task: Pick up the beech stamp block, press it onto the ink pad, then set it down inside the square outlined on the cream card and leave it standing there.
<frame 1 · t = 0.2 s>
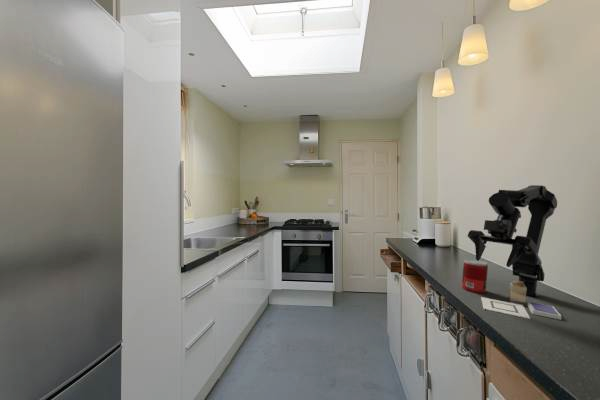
hand: (491, 263, 95), 15 cm above the worktop, tool tilted 30°, fingers open, 9 cm apart
ink pad: (542, 311, 94), on the worktop
print card: (503, 307, 96), on the worktop
stamp: (516, 301, 102), on the worktop
canned food: (473, 290, 113), on the worktop
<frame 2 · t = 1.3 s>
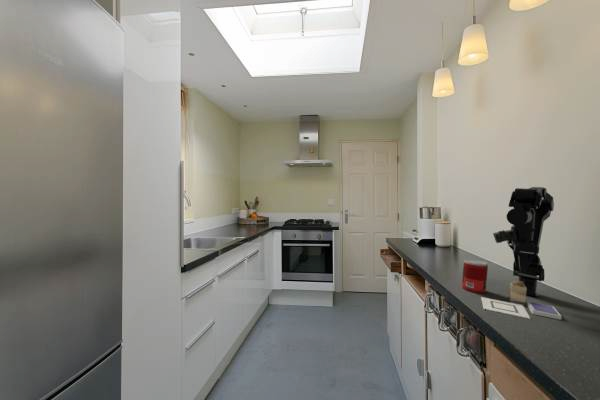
hand: (519, 268, 102), 12 cm above the worktop, tool pointing down, fingers open, 9 cm apart
nothing on the worktop moved.
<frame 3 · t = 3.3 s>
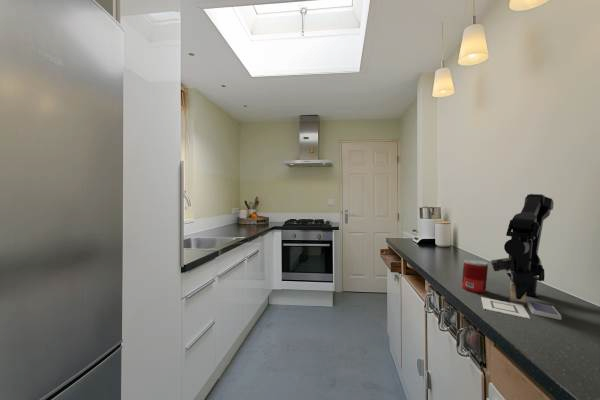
hand: (517, 297, 102), 2 cm above the worktop, tool pointing down, fingers closed on stamp, 4 cm apart
stamp: (516, 301, 102), on the worktop, touching gripper
everything else where it was.
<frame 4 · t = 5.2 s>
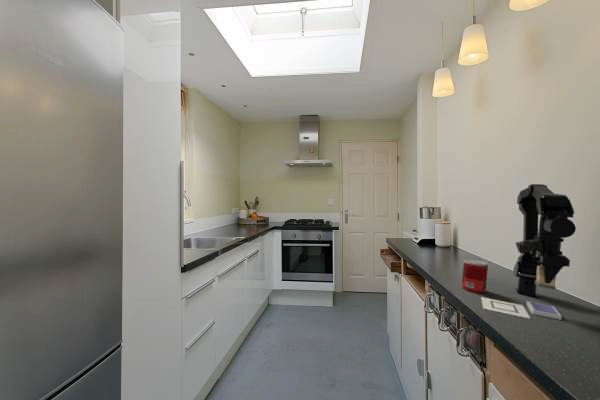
hand: (545, 281, 94), 10 cm above the worktop, tool pointing down, fingers closed on stamp, 4 cm apart
stamp: (544, 286, 94), point 8 cm above the worktop, touching gripper
everything else where it was.
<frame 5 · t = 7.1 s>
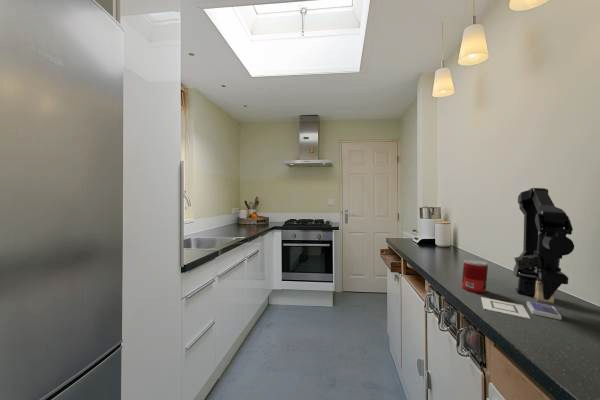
hand: (544, 297, 94), 5 cm above the worktop, tool pointing down, fingers closed on stamp, 4 cm apart
stamp: (543, 302, 94), point 3 cm above the worktop, touching gripper
everything else where it was.
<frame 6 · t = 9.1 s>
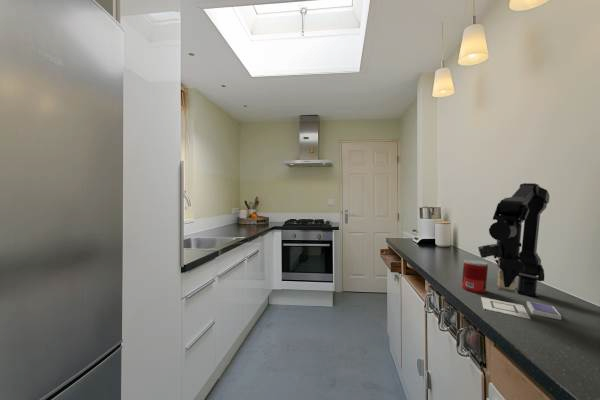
hand: (505, 285, 96), 7 cm above the worktop, tool pointing down, fingers closed on stamp, 4 cm apart
stamp: (505, 289, 96), point 6 cm above the worktop, touching gripper
everything else where it was.
when the fingers open (2 cm above the worktop, at t = 11.0 s): stamp stays where it is, resting on print card.
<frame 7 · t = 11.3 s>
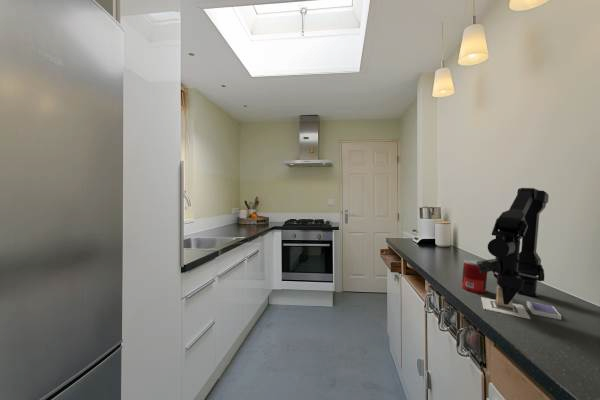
hand: (504, 300, 96), 2 cm above the worktop, tool pointing down, fingers open, 7 cm apart
stamp: (503, 306, 96), resting on print card
everything else where it was.
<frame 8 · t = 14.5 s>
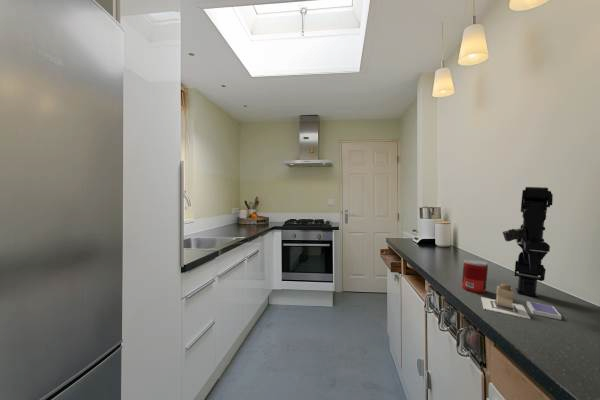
hand: (529, 266, 102), 13 cm above the worktop, tool pointing down, fingers open, 9 cm apart
nothing on the worktop moved.
at the end: stamp 0.1 cm off-centre on the print card, point 0.3 cm above the print card's base; stamp tilted 0°; the gripper is holding nothing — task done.
